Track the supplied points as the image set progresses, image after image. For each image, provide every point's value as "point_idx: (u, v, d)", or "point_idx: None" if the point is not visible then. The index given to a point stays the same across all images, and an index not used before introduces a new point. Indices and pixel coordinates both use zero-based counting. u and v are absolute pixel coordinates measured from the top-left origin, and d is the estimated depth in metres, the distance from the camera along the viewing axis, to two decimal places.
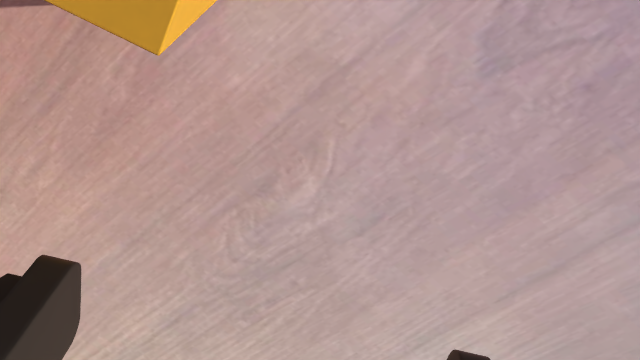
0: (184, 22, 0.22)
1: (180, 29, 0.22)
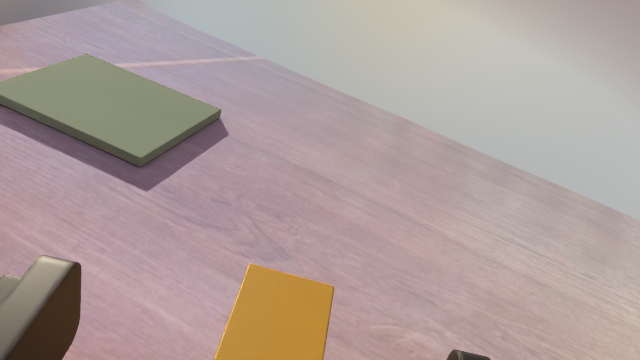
0: None
1: None
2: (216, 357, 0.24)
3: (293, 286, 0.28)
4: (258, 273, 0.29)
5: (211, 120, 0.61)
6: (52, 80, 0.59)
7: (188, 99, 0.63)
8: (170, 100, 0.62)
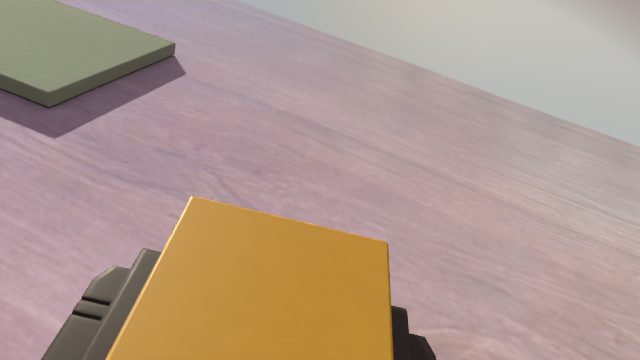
0: None
1: None
2: None
3: (296, 242, 0.12)
4: (213, 215, 0.12)
5: (161, 56, 0.45)
6: None
7: (129, 30, 0.46)
8: (104, 30, 0.45)
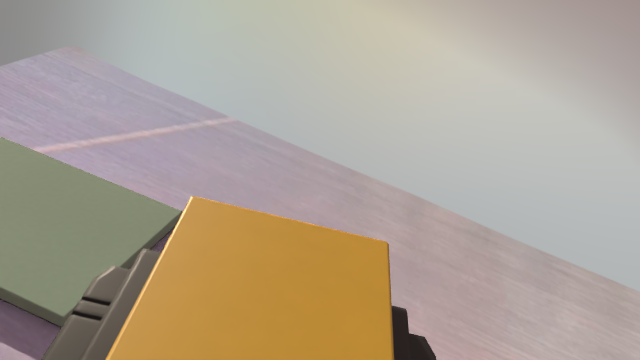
0: None
1: None
2: None
3: (296, 243, 0.12)
4: (213, 215, 0.12)
5: (169, 229, 0.46)
6: None
7: (137, 199, 0.47)
8: (113, 203, 0.46)
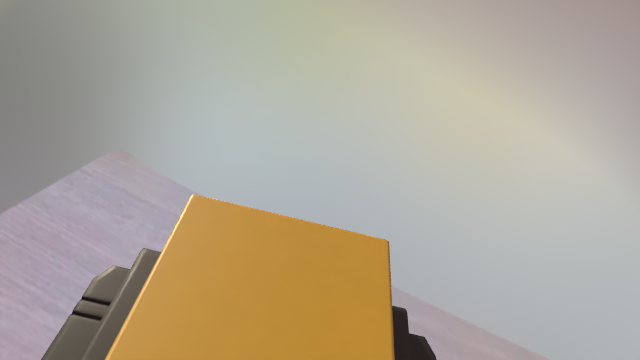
0: None
1: None
2: None
3: (297, 241, 0.12)
4: (214, 213, 0.12)
5: None
6: None
7: None
8: None
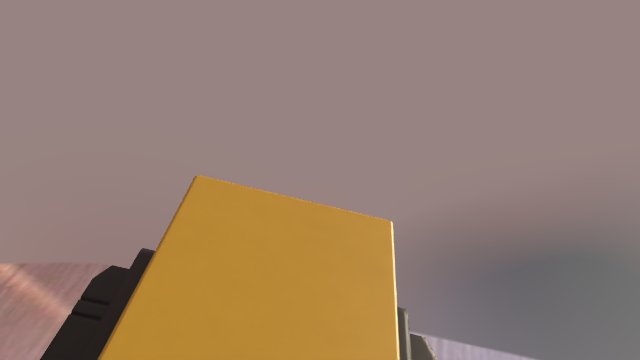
0: None
1: None
2: None
3: (301, 221, 0.12)
4: (218, 193, 0.12)
5: None
6: None
7: None
8: None
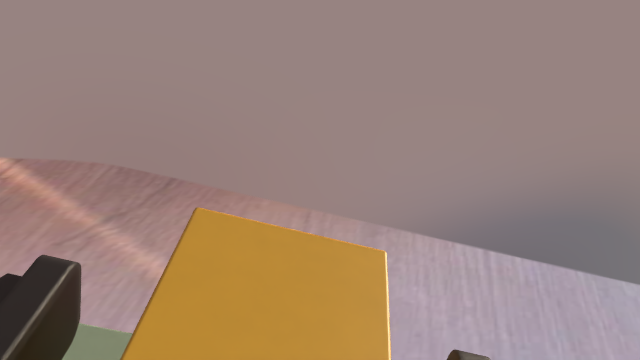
0: None
1: None
2: None
3: (297, 252, 0.12)
4: (217, 226, 0.13)
5: None
6: None
7: None
8: None
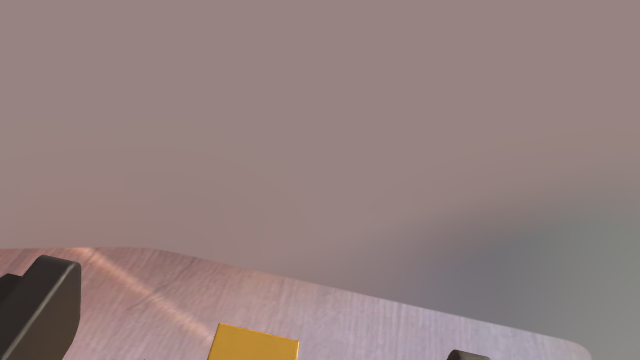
0: None
1: None
2: None
3: (261, 344, 0.31)
4: (228, 332, 0.31)
5: None
6: None
7: None
8: None
